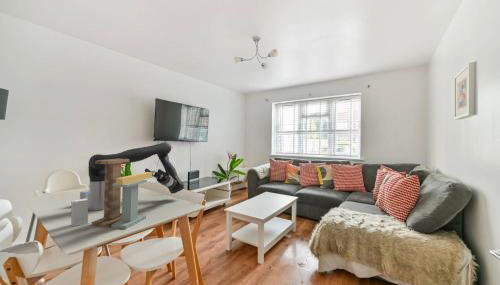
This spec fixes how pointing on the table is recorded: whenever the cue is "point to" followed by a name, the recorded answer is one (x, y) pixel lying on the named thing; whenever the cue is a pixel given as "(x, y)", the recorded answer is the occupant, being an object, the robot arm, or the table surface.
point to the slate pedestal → (129, 205)
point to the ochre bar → (133, 178)
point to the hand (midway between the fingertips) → (151, 170)
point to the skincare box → (79, 212)
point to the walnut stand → (111, 193)
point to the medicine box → (84, 195)
